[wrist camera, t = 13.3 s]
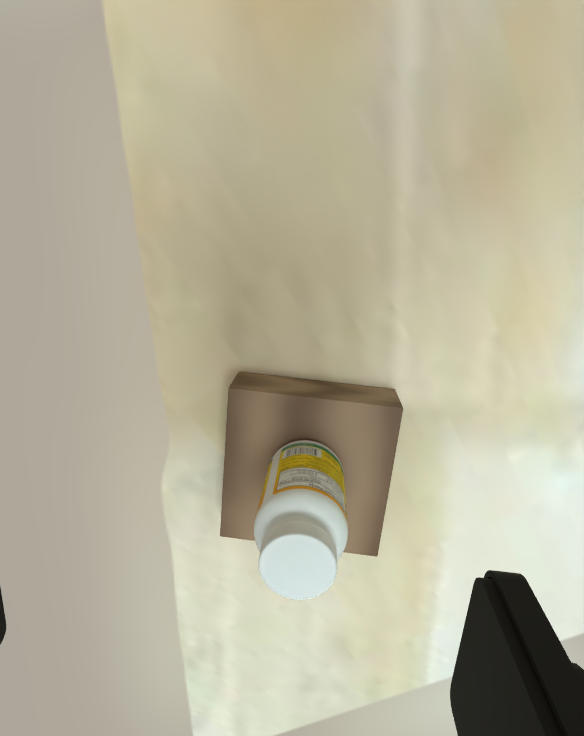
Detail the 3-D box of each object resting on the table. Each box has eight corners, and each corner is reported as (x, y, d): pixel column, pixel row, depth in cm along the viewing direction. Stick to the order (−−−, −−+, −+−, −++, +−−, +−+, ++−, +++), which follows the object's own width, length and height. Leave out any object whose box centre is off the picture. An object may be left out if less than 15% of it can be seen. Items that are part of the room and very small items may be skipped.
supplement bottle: (305, 422, 32) (298, 501, 22) (359, 474, 33) (374, 571, 23) (252, 471, 33) (223, 564, 24) (305, 519, 34) (298, 628, 24)
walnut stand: (394, 389, 35) (403, 408, 31) (372, 524, 38) (377, 556, 34) (239, 371, 35) (228, 388, 31) (230, 506, 39) (220, 536, 35)
